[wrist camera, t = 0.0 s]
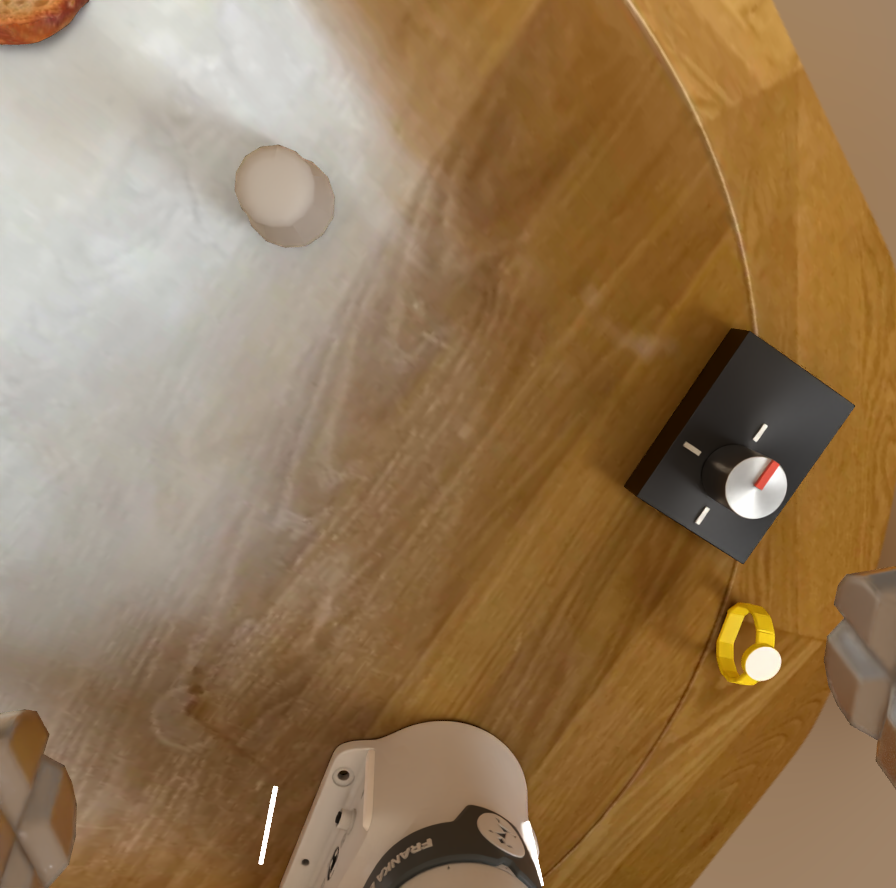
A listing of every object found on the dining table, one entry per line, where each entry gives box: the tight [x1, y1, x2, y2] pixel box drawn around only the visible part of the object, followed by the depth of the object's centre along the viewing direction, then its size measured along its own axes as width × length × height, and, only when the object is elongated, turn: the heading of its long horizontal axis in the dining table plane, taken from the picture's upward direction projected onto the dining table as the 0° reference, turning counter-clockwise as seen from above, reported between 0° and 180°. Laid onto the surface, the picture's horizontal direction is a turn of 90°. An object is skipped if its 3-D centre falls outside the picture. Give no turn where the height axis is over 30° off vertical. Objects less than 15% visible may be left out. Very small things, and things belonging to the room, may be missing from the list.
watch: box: [716, 602, 781, 685], centre depth 64 cm, size 6×3×6 cm, turn 165°
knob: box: [702, 445, 787, 519], centre depth 59 cm, size 4×4×4 cm
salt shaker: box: [235, 145, 335, 248], centre depth 51 cm, size 6×6×13 cm
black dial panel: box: [624, 328, 855, 564], centre depth 62 cm, size 14×10×3 cm
